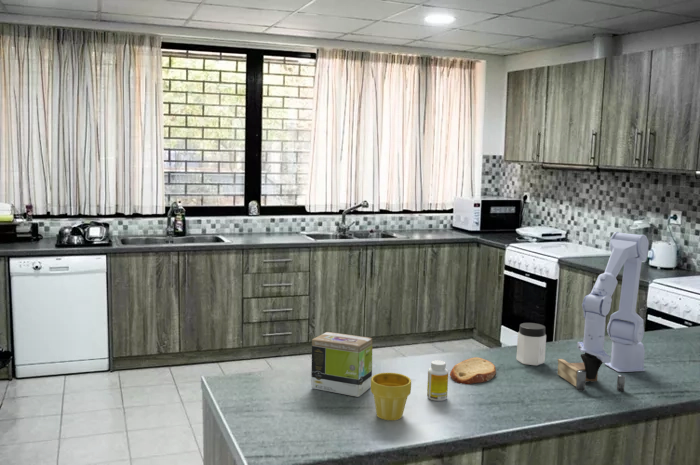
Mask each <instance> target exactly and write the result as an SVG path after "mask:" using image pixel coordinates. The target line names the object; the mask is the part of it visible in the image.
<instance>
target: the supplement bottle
mask: <svg viewBox="0 0 700 465" xmlns="http://www.w3.org/2000/svg"><path fill="white" fill-rule="evenodd" d="M446 365H447V363H446V362H445V361H444V360H440V359H439V360H437V359H436V360H432V361H431V362H430V367H429V369H428V370H427V386H426V387H427V388H426V389H427V392H426V397H427V399H429V400H431V401H435V402H443V401H445V400H447V399H448V389H449V388H448V387H449V385H448V384H449V370H448V369H447V368H446Z"/></svg>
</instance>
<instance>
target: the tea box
mask: <svg viewBox="0 0 700 465" xmlns="http://www.w3.org/2000/svg"><path fill="white" fill-rule="evenodd" d="M310 375H311V379H310V380H311V389H314V390H319V391H324V392H331V393H336V394H340V395H341V394H342V395H345V396H346V395H347V396H351V397H357V398H359V397H360V396H362V395H363V394H364V393H366V392H367V391H368V390H369V389H371V378H372V377H373V376H372V375H373V338H372V337H368V336H362V335H361V336H359V335H354V334H353V335H352V334H345V333H338V332H331V331H326V332H324V333H322V334H320V335H318V336H317V337H314V338H312V339H311V374H310Z"/></svg>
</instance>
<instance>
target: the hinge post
mask: <svg viewBox="0 0 700 465" xmlns="http://www.w3.org/2000/svg"><path fill="white" fill-rule="evenodd" d="M585 380H586V371H584V370H578V371H577V383H576V386H575V390H576V391H580V392H585V390H586V382H585Z"/></svg>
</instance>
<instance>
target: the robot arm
mask: <svg viewBox="0 0 700 465" xmlns="http://www.w3.org/2000/svg"><path fill="white" fill-rule="evenodd" d="M649 242H650V241H649V240H648V237H647V236H646V234H636V233H628V232H627V233H625V232H619V231H615V232H613V234H612V235H611V237H610V240H609V250H610V252H611V253H610V256H609V259H608V261H607V264H606V266H605V270H604V272H603V273H600V274H599V275H598V276H597V279H596V281H595V283H594V285H593V287H592V289H591V292H590V293H588V294H587V295H585V296H584V298H583V299H582V303H581V307H582V312H583V318H584V329H583V341H577V345H576V349H579V351H580V352H581V354H580V358H581V360H582V363H584V366H585V370H586V376H587V378H588V379H595V378H596V375H597V373H598V374H599V370H600V368H601V366H602V364H604V365H606V366H607V367H609V368H610V369H613V370H615V371H616V372H617V373H629V372H645V371H646V369H645V368H644V367H645V354H646V350H645V345H644V344H643V342H642V340H643V338H644V335H645V326H644V325H645V324H644V321H645V320H644V318H642V317H641V316H640V315H639V314H638V313H637V312H636V310H637V309H636V308H637V303H638V302H637V301H638V295H639V294H638V292H639V288H640V287H639V286H640V277H641V270H642V263H643V261H646V260H647V259H648V252H649V245H650V244H649ZM622 268H623V272H622V281H621V288H620V296H619V297H620V298H619V305H618V310H617V311H615V312H612V314H610V316H609V317H610V318H609V322H608V323H607V326H606V320H607V315H609V313H610V311H611V307H612V301H613V299H612V296H613V294H614V292H615V290H616V287H617V286H618V283H619V282H618V280H617V277H618V275H619V273H620V271H621V270H622ZM606 327H607V328H606ZM606 332H607V333H606ZM606 334H607V335H608V337H609V338H610V341H612V343H611V354H610V355H609V354H608V353H607V352H606V350H605V349H604V347H605V346H604V345H605V336H606Z"/></svg>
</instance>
